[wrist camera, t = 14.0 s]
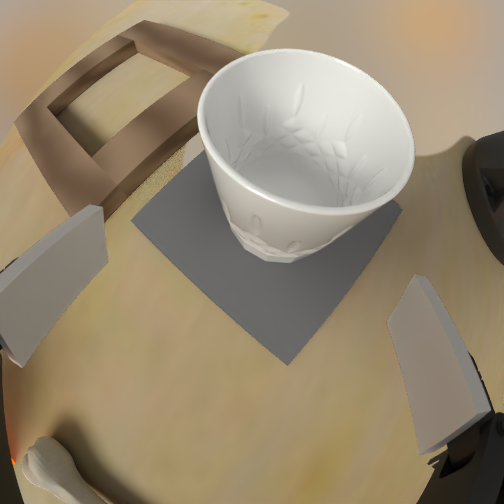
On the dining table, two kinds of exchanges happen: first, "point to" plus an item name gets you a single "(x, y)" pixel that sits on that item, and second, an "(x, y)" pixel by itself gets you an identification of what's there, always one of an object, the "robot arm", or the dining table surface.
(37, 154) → the puzzle board
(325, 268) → the rubber mat
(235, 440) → the dining table surface
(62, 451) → the dog toy
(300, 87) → the white cup
